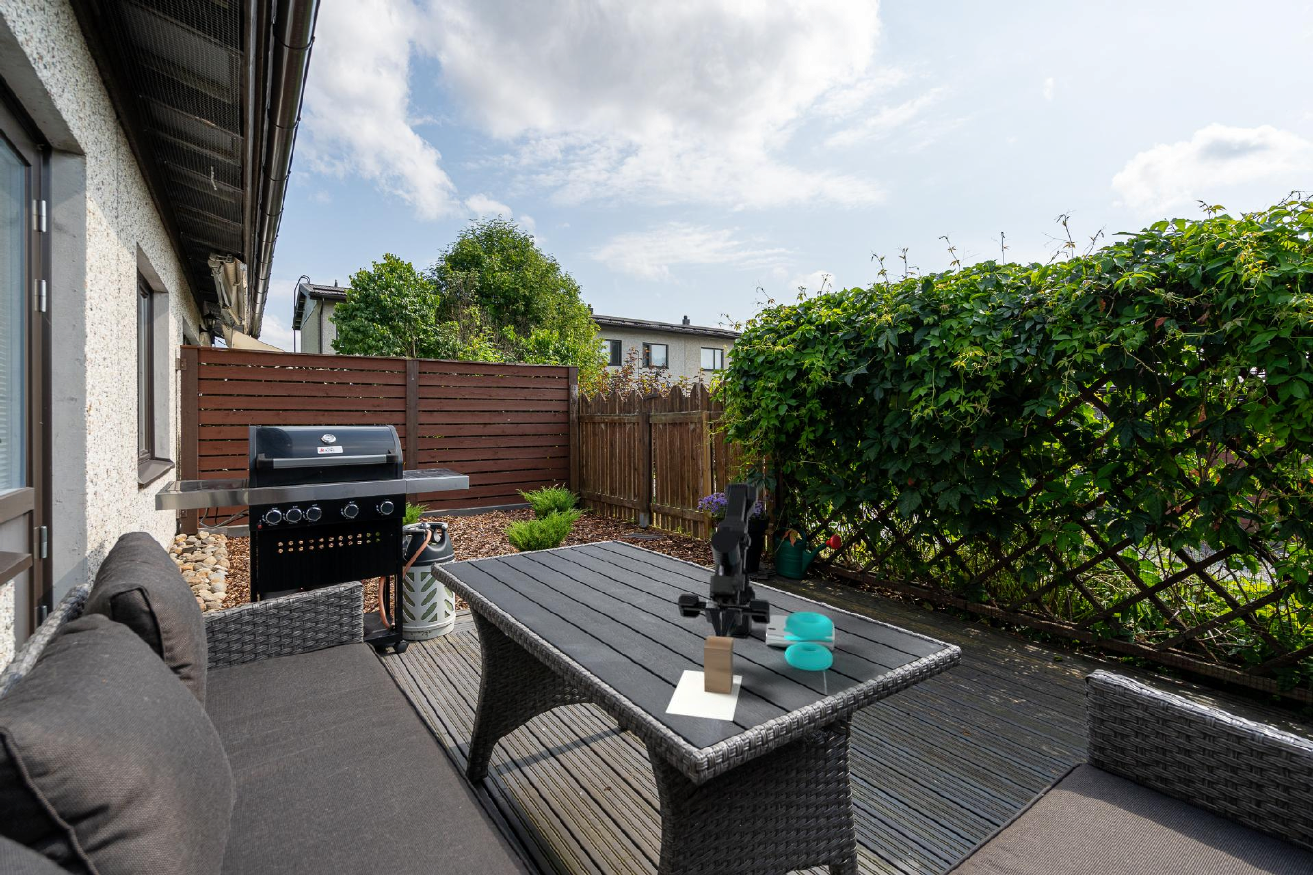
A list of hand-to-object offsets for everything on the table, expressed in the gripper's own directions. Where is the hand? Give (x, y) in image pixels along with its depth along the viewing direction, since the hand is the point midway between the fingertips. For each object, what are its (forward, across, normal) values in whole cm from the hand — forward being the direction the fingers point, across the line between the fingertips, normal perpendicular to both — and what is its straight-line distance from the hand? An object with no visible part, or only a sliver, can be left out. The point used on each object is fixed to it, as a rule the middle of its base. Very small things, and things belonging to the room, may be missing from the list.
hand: (720, 647), depth 120 cm
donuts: (-5, +17, +16) cm, 24 cm away
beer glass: (-14, +23, +20) cm, 33 cm away
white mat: (+9, -2, +2) cm, 9 cm away
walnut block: (+6, 0, +3) cm, 7 cm away
